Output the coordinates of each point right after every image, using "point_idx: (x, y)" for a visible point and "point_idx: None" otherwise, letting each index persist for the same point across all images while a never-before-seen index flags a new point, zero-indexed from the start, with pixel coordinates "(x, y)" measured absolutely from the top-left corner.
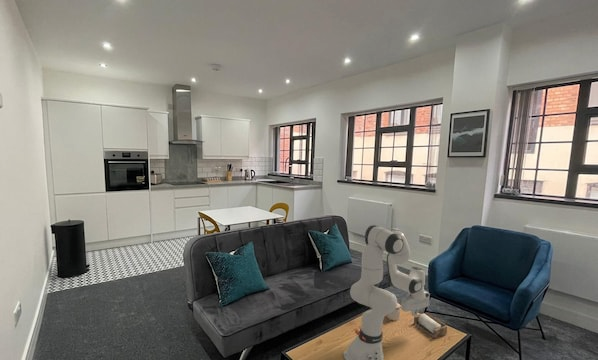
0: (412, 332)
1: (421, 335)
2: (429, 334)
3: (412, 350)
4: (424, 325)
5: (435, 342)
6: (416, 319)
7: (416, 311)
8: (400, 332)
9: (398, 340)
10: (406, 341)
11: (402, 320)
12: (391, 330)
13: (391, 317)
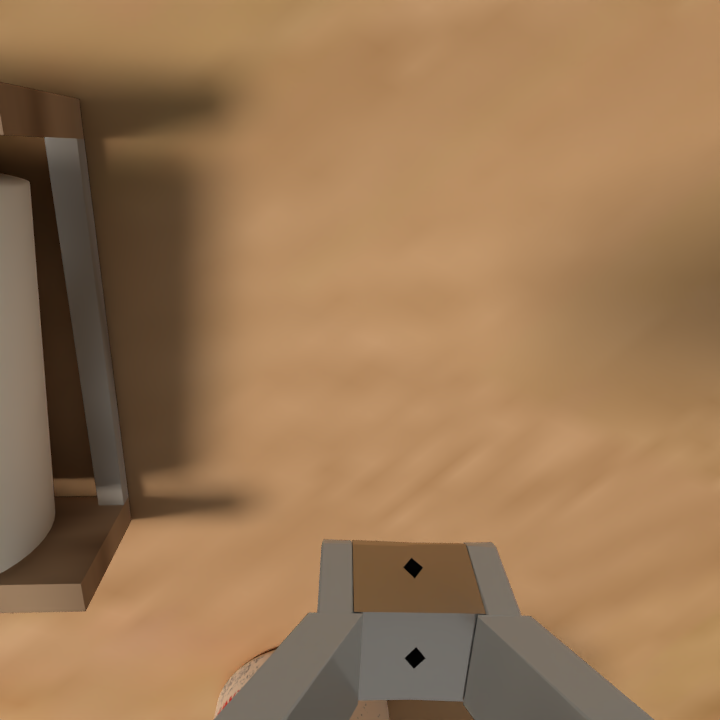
0: (320, 384)
1: (246, 272)
2: (94, 226)
3: (703, 65)
4: (42, 391)
5: (161, 12)
6: (72, 551)
7: (333, 687)
8: (481, 452)
9: (661, 338)
10: (585, 271)
11: (233, 621)
12: (551, 525)
13: (377, 703)
